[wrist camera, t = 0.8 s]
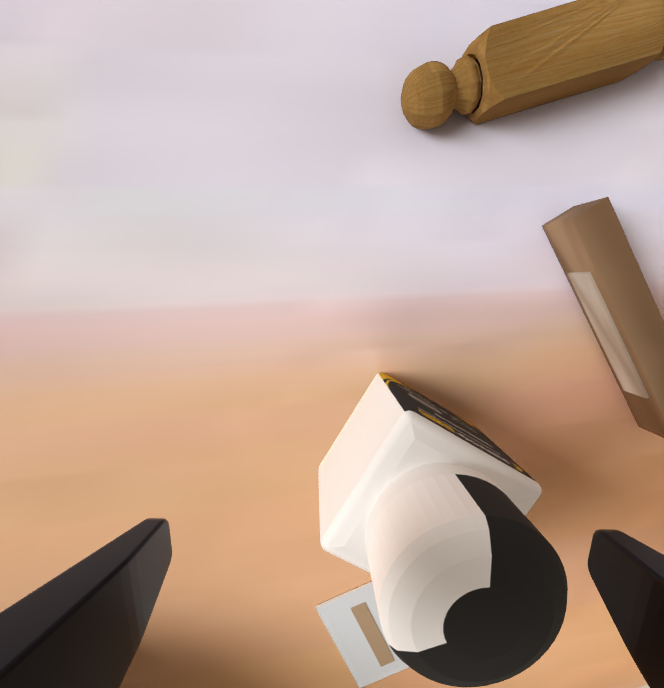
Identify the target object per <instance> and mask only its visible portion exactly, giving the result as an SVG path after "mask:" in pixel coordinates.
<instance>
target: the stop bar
mask: <svg viewBox="0 0 664 688" xmlns="http://www.w3.org/2000/svg"><path fill="white" fill-rule="evenodd" d="M542 227H543V229H544V231H545V233H546V235H547V237H548V239H549V241H550V243H551V245H552V248H553V250H554V252H555V254H556V256H557V258H558V260H559V262H560V264H561V266H562V268H563V270H564V272H565V275H566V277H567V279H568V281H569V283H570V285H571V287H572V289H573V291H574V293H575V295H576V297H577V299H578V301H579V304H580V306H581V308H582V310H583V312H584V314H585V316H586V318H587V320H588V322H589V324H590V326H591V328H592V331H593V333H594V335H595V337H596V339H597V341H598V343H599V345H600V347H601V349H602V351H603V353H604V355H605V357H606V360H607V362H608V364H609V366H610V368H611V370H612V372H613V374H614V376H615V378H616V380H617V382H618V384H619V387H620V389H621V391H622V393H623V395H624V397H625V399H626V401H627V403H628V405H629V407H630V409H631V411H632V413H633V416H634V418H635V420H636V422H637V424H638V426H639V427H641V428H643V429H645V430H648V431H650V432H652V433H654V434H657V435H659V436H661V437H663V438H664V322H663V320H662V317H661V315H660V313H659V311H658V308H657V306H656V304H655V301H654V299H653V297H652V295H651V292H650V290H649V288H648V286H647V283H646V281H645V279H644V277H643V274H642V272H641V270H640V268H639V265H638V263H637V261H636V259H635V256H634V254H633V252H632V250H631V247H630V245H629V243H628V240H627V238H626V236H625V234H624V231H623V229H622V227H621V225H620V222H619V220H618V218H617V216H616V213H615V211H614V209H613V207H612V204H611V202H610V200H609V198H608V197H606V198H602V199H599V200H595V201H591V202H588V203H584V204H581V205H577V206H574V207H572V208H570V209H569V210H567V211H565V212H564V213H562V214H561V215H559V216H557V217H556V218H554V219H552V220H551V221H549V222H547V223H546V224H544V225H543V226H542Z"/></svg>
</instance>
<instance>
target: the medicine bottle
mask: <svg viewBox="0 0 664 688" xmlns="http://www.w3.org/2000/svg"><path fill="white" fill-rule="evenodd" d="M318 470H319V508H320V542H321V546H322V548H323V549H324V550H325V551H327V552H329V553H331V554H333V555H335V556H337V557H339V558H341V559H343V560H345V561H347V562H349V563H351V564H353V565H355V566H357V567H359V568H361V569H363V570H365V571H367V572H369V573H371V578H372V583H373V588H374V593H375V598H376V604H377V609H378V614H379V619H380V624H381V627H382V631H383V634H384V636H385V638H386V640H387V642H388V644H389V646H390V647H391V649H392V650H393V652H394V653H395V654H396V655H397V656H398V657H399V658H400V659H401V660H402V661H403V662H404V663H405V664H406V665H408V666H409V667H410V668H412V669H413V670H415V671H416V672H418V673H419V674H421V675H423V676H425V677H426V678H428V679H430V680H433V681H436V682H438V683H441V684H445V685H450V686H457V687H478V686H486V685H490V684H494V683H498V682H501V681H504V680H506V679H509V678H511V677H513V676H515V675H517V674H519V673H521V672H522V671H524V670H525V669H527V668H529V667H530V666H531V665H532V664H534V663H535V662H536V661H537V660H538V659H540V658H541V656H542V655H543V654H544V653H545V652H546V651H547V650H548V649H549V647H550V646H551V645H552V643H553V642H554V640H555V639H556V637H557V635H558V633H559V631H560V629H561V626H562V623H563V621H564V617H565V612H566V605H567V591H568V588H567V578H566V574H565V570H564V566H563V564H562V562H561V560H560V558H559V556H558V554H557V553H556V551H555V550H554V548H553V547H552V545H551V544H550V543H549V542H548V541H547V540H546V539H545V538H544V536H543V535H542V534H541V533H540V532H539V531H538V530H537V529H536V528H535V526H534V525H533V524H532V523H531V522H530V521H529V520H528V519H527V517H526V514H527V513H528V511H529V510H530V509H531V507H532V506H533V505H534V503H535V502H536V500H537V499H538V498H539V496H540V495H541V492H542V490H541V487H540V485H539V484H538V483H537V482H536V481H535V480H534V479H533V478H532V477H531V476H530V475H528V474H527V473H526V472H525V471H524V470H523V469H522V468H521V467H520V466H519V465H517V464H516V463H515V462H514V461H513V460H512V459H511V458H510V457H509V456H508V455H506V454H505V453H504V452H503V451H502V450H501V449H500V448H499V447H498V446H497V445H495V444H494V443H493V442H492V441H491V440H490V439H489V438H488V437H487V436H486V435H484V434H483V433H482V432H481V431H480V430H479V429H478V428H477V427H476V426H474V425H473V424H471V423H469V422H468V421H466V420H464V419H462V418H461V417H459V416H457V415H456V414H454V413H452V412H450V411H449V410H447V409H445V408H443V407H442V406H440V405H438V404H437V403H435V402H433V401H431V400H430V399H428V398H426V397H425V396H423V395H421V394H419V393H418V392H416V391H414V390H413V389H411V388H409V387H407V386H406V385H404V384H402V383H400V382H399V381H397V380H395V379H394V378H392V377H390V376H388V375H387V374H385V373H382V372H381V373H378V374H377V375H376V376H375V378H374V379H373V381H372V382H371V384H370V386H369V387H368V389H367V390H366V392H365V394H364V395H363V397H362V398H361V400H360V402H359V403H358V405H357V406H356V408H355V410H354V411H353V413H352V414H351V416H350V418H349V419H348V421H347V422H346V424H345V426H344V427H343V429H342V430H341V432H340V434H339V435H338V437H337V438H336V440H335V442H334V443H333V445H332V446H331V448H330V450H329V451H328V453H327V454H326V456H325V458H324V459H323V461H322V462H321V464H320V466H319V469H318Z"/></svg>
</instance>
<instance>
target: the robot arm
mask: <svg viewBox="0 0 664 688" xmlns="http://www.w3.org/2000/svg"><path fill="white" fill-rule="evenodd" d="M171 557H172V546H171V538H170V529H169V523H168V521H167V520H166V519H162V518H148V519H146V520H144V521H142V522H141V523H139V524H138V525H136V526H134V527H133V528H131V529H130V530H128V531H127V532H125V533H124V534H122V535H121V536H119V537H117V538H116V539H114V540H113V541H111V542H110V543H108V544H107V545H105V546H103V547H102V548H100V549H99V550H97V551H96V552H94V553H93V554H91V555H89V556H88V557H86V558H85V559H83V560H82V561H80V562H79V563H77V564H75V565H74V566H72V567H71V568H69V569H68V570H66V571H65V572H63V573H61V574H60V575H58V576H57V577H55V578H54V579H52V580H51V581H49V582H47V583H46V584H44V585H43V586H41V587H40V588H38V589H37V590H35V591H33V592H32V593H30V594H29V595H27V596H26V597H24V598H23V599H21V600H19V601H18V602H16V603H15V604H13V605H12V606H10V607H9V608H7V609H5V610H4V611H2V612H1V613H0V688H119V687H120V685H121V683H122V681H123V679H124V676H125V674H126V672H127V670H128V668H129V666H130V664H131V662H132V660H133V658H134V655H135V653H136V651H137V649H138V646H139V644H140V642H141V640H142V637H143V635H144V632H145V629H146V627H147V624H148V621H149V619H150V616H151V613H152V611H153V608H154V605H155V602H156V600H157V597H158V594H159V592H160V589H161V586H162V584H163V581H164V578H165V575H166V573H167V570H168V567H169V565H170V561H171ZM588 568H589V572H590V575H591V577H592V579H593V581H594V583H595V585H596V587H597V589H598V591H599V593H600V595H601V597H602V599H603V601H604V603H605V605H606V607H607V609H608V611H609V613H610V615H611V617H612V619H613V621H614V623H615V625H616V627H617V629H618V631H619V633H620V635H621V637H622V639H623V641H624V643H625V645H626V647H627V649H628V650H629V652H630V654H631V656H632V658H633V660H634V661H635V663H636V665H637V667H638V668H639V670H640V672H641V674H642V675H643V677H644V679H645V680H646V682H647V684H648V685H649V687H650V688H664V555H663V554H661V553H659V552H657V551H656V550H654V549H652V548H650V547H648V546H646V545H645V544H643V543H641V542H639V541H637V540H636V539H634V538H632V537H630V536H628V535H626V534H625V533H623V532H621V531H618V530H605V529H599V530H596V531H595V533H594V535H593V539H592V544H591V548H590V553H589V558H588Z"/></svg>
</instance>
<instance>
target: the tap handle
mask: <svg viewBox="0 0 664 688" xmlns="http://www.w3.org/2000/svg"><path fill="white" fill-rule="evenodd" d="M474 59H478V61H479V63H480V66H481V71H482V76H483V95H482V99H481V102H480V105H479V108H478V109H477V110H476V111H475V112H474V113H471V112H472V111H473V110H474V109H475V108H476V106H477V104H478V102H479V99H480V96H481V82H482V80H481V75H480V70H479V66H478V64H477V63H476V61H475V60H474ZM663 59H664V0H577V1H574V2H570V3H567V4H564V5H560V6H557V7H554V8H550V9H547V10H543V11H540V12H537V13H533V14H530V15H527V16H523V17H520V18H517V19H513V20H510V21H507V22H503V23H500V24H497V25H493V26H491V27H490V28H488V29H487V30H486V31H484V32H483V33H482V34H481V35H479V36H478V37H477V38H476V39H475V40H474V41H473V42H472V43H471V44H470V45H469V46H468V48H467V49H466V51H465V52H464V54H463V56H462V58H460V59H458V60H457V61H456V63H455V65H454V67H453V68H452V70H451V71H450V70H449V68H448V67H447V66H446V65H444V64H443V63H441V62H438V61H431V62H427V63H425V64H423V65H421V66H419V67H418V68H416V69H414V70H413V71H412V72H411V73H410V74H409V75H408V77H407V78H406V80H405V82H404V84H403V89H402V94H401V106H402V110H403V113H404V115H405V117H406V119H407V121H408V122H409V123H410V124H411V125H412V126H413V127H415V128H417V129H431V128H435V127H438V126H440V125H442V124H443V123H445V122H446V121H447V120H448V118H449V117H450V115H451V114H452V111H453V109H456V110H457V111H459V112H460V114H467V116H468V118H469V119H470V121H471V122H472V123H474V124H475V125H476V124H480V123H483V122H486V121H490V120H493V119H496V118H500V117H503V116H506V115H510V114H513V113H516V112H520V111H523V110H526V109H530V108H533V107H536V106H540V105H543V104H546V103H550V102H553V101H556V100H559V99H563V98H566V97H569V96H573V95H576V94H579V93H583V92H586V91H589V90H593V89H596V88H599V87H603V86H606V85H609V84H613V83H616V82H618V81H620V80H622V79H624V78H626V77H628V76H630V75H632V74H633V73H635V72H637V71H638V70H640V69H642V68H643V67H645V66H646V65H648V64H649V63H651V62H652V61H653V60H663Z"/></svg>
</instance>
